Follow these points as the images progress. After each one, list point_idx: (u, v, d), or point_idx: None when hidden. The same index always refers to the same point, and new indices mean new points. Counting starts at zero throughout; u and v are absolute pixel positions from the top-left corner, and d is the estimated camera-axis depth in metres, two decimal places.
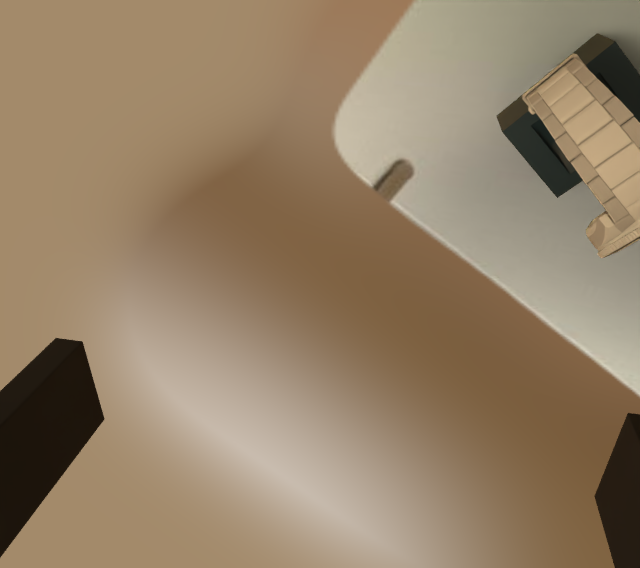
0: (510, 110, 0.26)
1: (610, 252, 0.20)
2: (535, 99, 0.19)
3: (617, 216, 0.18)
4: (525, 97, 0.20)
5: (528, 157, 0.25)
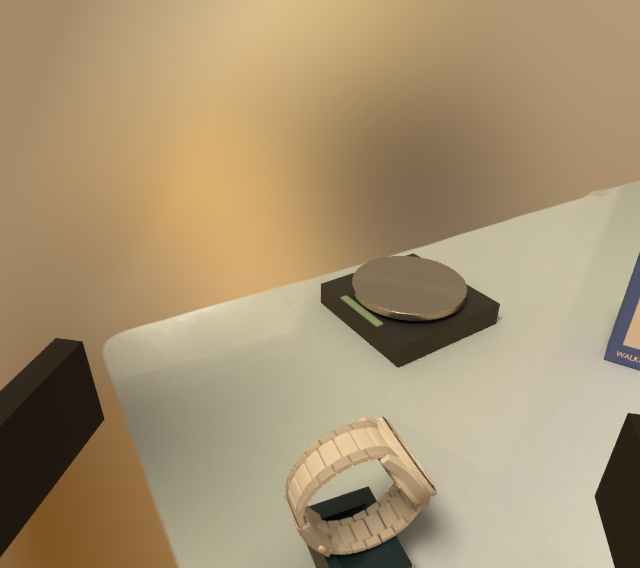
0: None
1: (417, 469, 0.27)
2: (297, 508, 0.26)
3: (381, 451, 0.26)
4: (300, 529, 0.27)
5: None
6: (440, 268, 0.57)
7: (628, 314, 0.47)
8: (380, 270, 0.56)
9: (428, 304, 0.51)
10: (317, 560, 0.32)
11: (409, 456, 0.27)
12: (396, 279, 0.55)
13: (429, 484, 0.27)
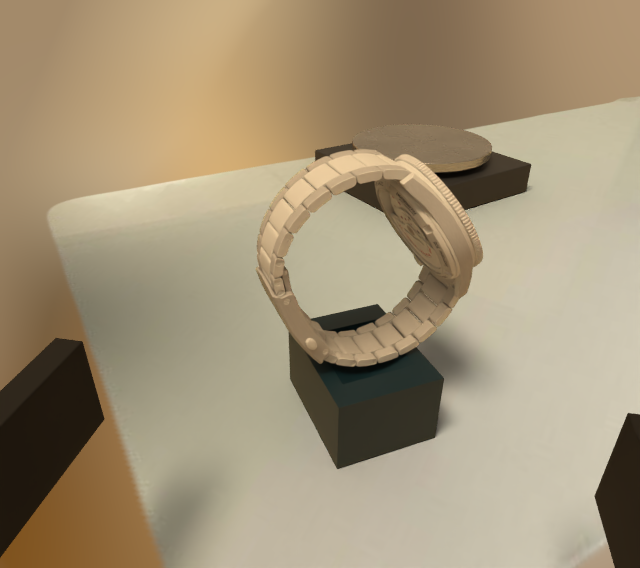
0: (330, 437, 0.20)
1: (457, 201, 0.17)
2: (272, 260, 0.17)
3: (401, 169, 0.17)
4: (278, 298, 0.18)
5: (382, 392, 0.19)
6: (458, 132, 0.47)
7: None
8: (386, 133, 0.47)
9: (446, 156, 0.42)
10: (306, 392, 0.22)
11: None
12: (406, 139, 0.46)
13: (474, 229, 0.18)
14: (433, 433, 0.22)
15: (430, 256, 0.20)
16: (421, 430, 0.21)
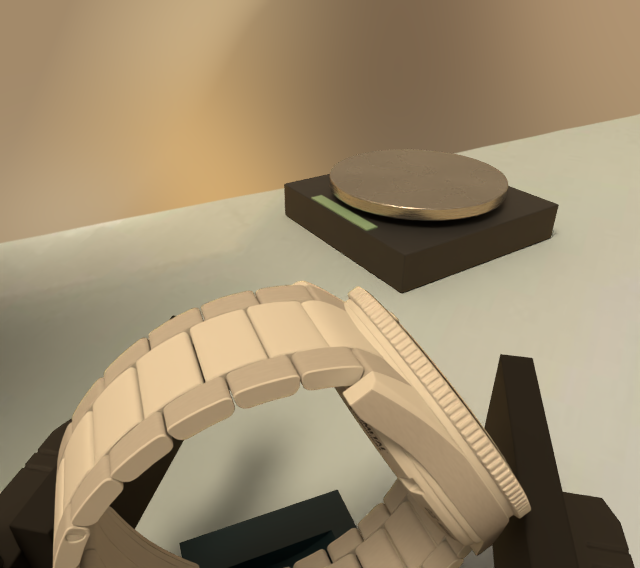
0: None
1: (477, 427, 0.08)
2: None
3: (347, 361, 0.07)
4: None
5: None
6: (463, 161, 0.38)
7: None
8: (373, 163, 0.37)
9: (449, 197, 0.32)
10: None
11: (447, 384, 0.08)
12: (398, 171, 0.36)
13: (516, 480, 0.08)
14: None
15: None
16: None
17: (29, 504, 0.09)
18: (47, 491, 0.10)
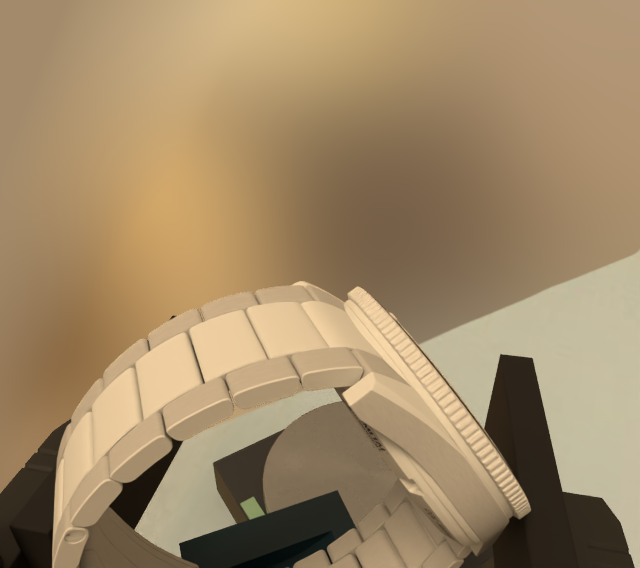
0: None
1: (477, 428, 0.08)
2: None
3: (346, 361, 0.07)
4: None
5: None
6: None
7: None
8: (319, 440, 0.31)
9: None
10: None
11: (447, 384, 0.08)
12: (346, 464, 0.30)
13: (516, 481, 0.08)
14: None
15: None
16: None
17: (29, 504, 0.09)
18: (47, 491, 0.10)
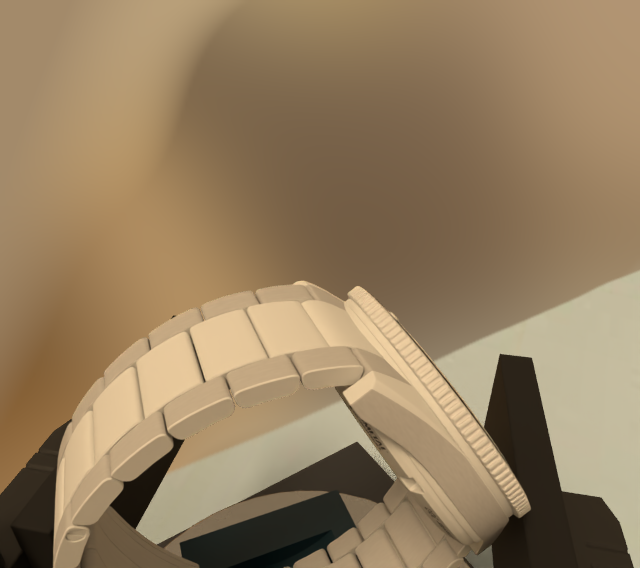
0: None
1: (477, 427, 0.08)
2: None
3: (347, 360, 0.07)
4: None
5: None
6: None
7: None
8: None
9: None
10: None
11: (447, 383, 0.08)
12: None
13: (516, 480, 0.08)
14: None
15: None
16: None
17: (30, 504, 0.09)
18: (48, 491, 0.10)
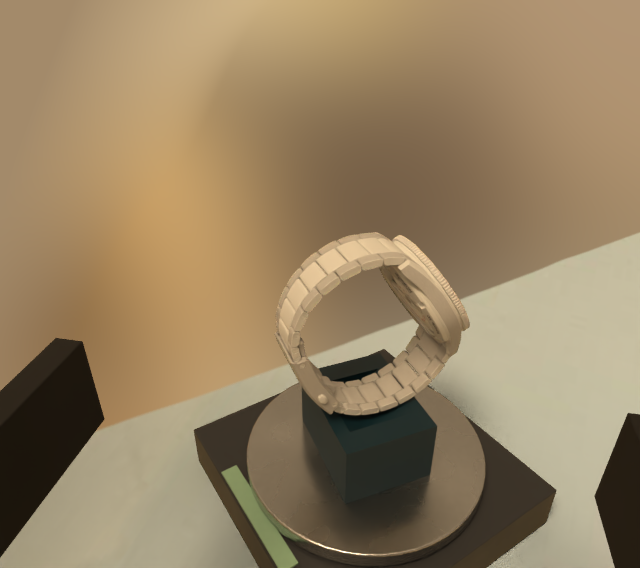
0: (338, 477, 0.23)
1: (446, 281, 0.20)
2: (290, 333, 0.20)
3: (399, 256, 0.20)
4: (295, 364, 0.21)
5: (383, 439, 0.22)
6: (430, 404, 0.29)
7: None
8: None
9: (400, 517, 0.23)
10: (317, 434, 0.26)
11: (435, 267, 0.21)
12: None
13: (461, 304, 0.21)
14: (429, 471, 0.25)
15: (425, 321, 0.23)
16: (418, 469, 0.24)
17: None
18: None
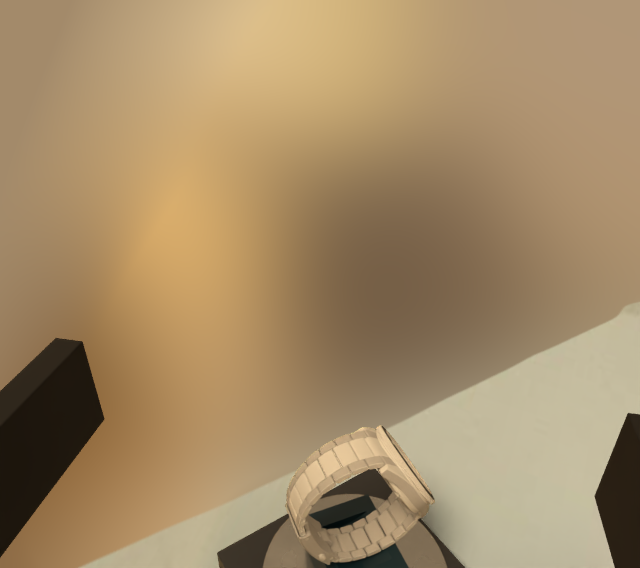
0: None
1: (416, 478, 0.27)
2: (298, 518, 0.27)
3: (380, 461, 0.27)
4: (301, 538, 0.27)
5: None
6: (409, 531, 0.35)
7: None
8: None
9: None
10: (317, 567, 0.32)
11: (408, 465, 0.27)
12: None
13: (427, 493, 0.27)
14: None
15: None
16: None
17: None
18: None
